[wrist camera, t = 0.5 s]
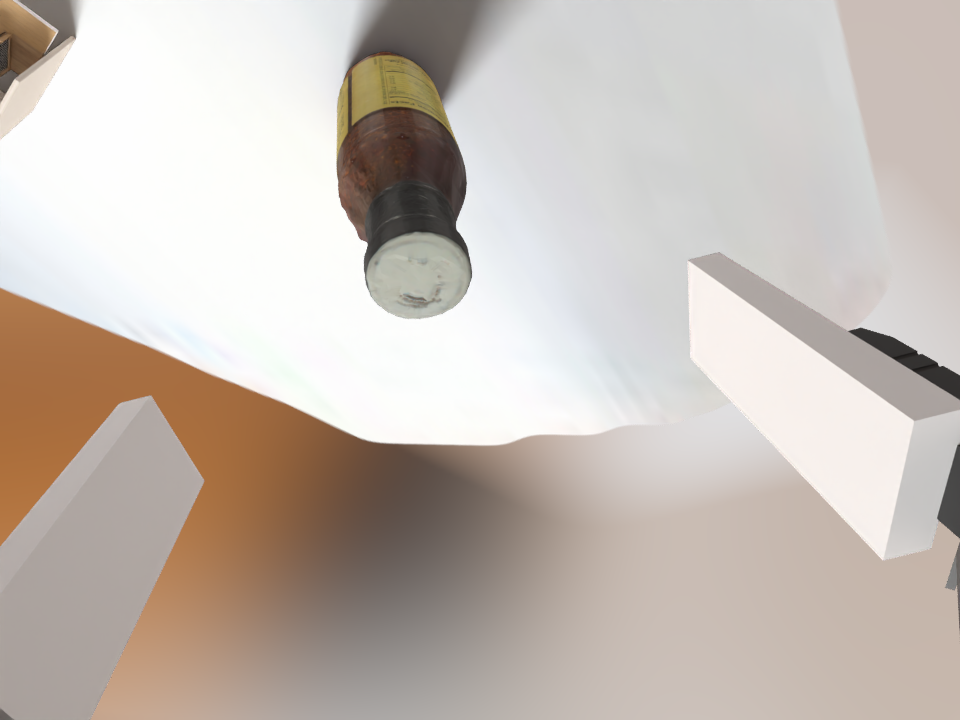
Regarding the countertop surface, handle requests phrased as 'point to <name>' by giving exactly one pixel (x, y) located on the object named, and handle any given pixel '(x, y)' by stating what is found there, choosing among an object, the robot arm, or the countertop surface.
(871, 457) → the robot arm
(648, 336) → the countertop surface
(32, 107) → the architectural model
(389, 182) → the sauce bottle
